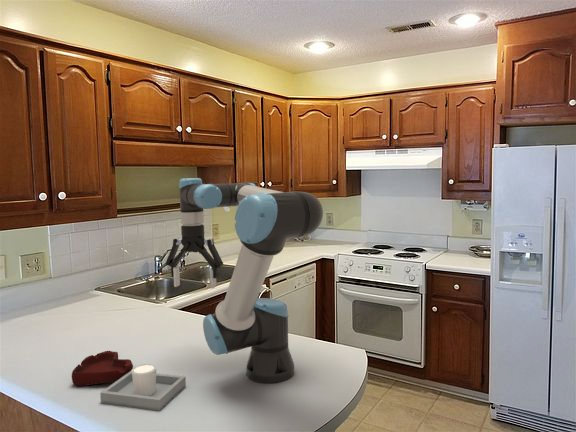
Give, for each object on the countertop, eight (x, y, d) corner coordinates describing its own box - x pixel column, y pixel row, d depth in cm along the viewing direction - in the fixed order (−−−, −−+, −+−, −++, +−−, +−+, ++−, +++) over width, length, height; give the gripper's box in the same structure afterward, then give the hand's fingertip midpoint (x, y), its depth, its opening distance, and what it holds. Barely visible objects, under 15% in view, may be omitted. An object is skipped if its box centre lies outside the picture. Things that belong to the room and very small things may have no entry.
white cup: (131, 399, 125) (130, 375, 125) (133, 388, 132) (132, 365, 131) (157, 396, 127) (156, 372, 126) (157, 385, 134) (156, 362, 133)
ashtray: (62, 378, 141) (61, 363, 141) (113, 362, 153) (112, 348, 152) (84, 397, 129) (83, 380, 128) (137, 378, 140) (137, 363, 140)
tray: (185, 386, 134) (185, 376, 134) (159, 410, 120) (159, 400, 120) (131, 379, 139) (131, 370, 138) (100, 403, 125) (100, 392, 125)
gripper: (231, 223, 151) (233, 285, 153) (165, 222, 158) (167, 282, 160) (222, 226, 144) (224, 291, 146) (153, 225, 150) (156, 287, 152)
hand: (195, 286), depth 153 cm, fingers open, 13 cm apart
